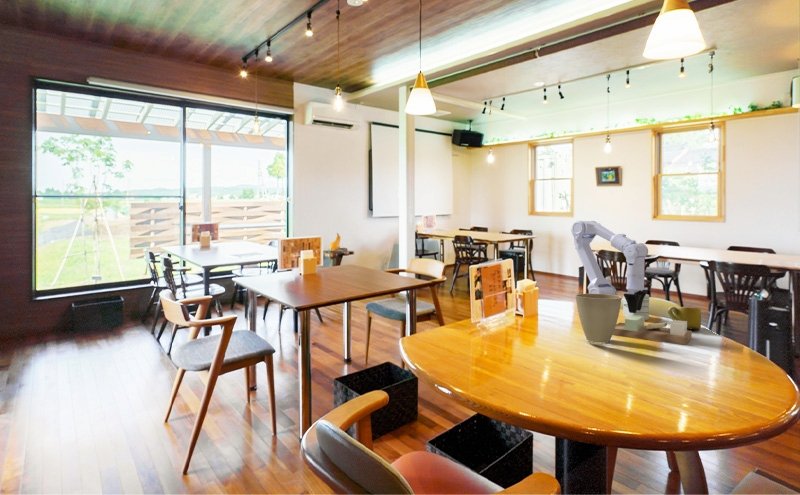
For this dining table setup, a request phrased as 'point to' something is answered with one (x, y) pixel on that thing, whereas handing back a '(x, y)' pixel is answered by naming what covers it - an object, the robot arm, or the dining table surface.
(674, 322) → the button white
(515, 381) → the dining table surface
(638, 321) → the light green rectangular bar
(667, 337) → the panel
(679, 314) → the mug
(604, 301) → the plant pot
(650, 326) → the tan flat block
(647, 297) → the supplement box
